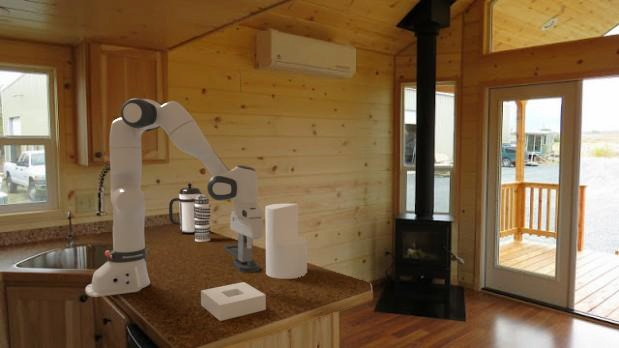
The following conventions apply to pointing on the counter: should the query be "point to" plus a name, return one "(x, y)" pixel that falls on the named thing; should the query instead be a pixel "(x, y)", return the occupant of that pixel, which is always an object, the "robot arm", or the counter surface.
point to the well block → (233, 300)
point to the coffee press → (185, 208)
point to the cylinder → (284, 243)
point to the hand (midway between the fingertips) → (245, 246)
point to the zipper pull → (241, 266)
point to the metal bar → (244, 249)
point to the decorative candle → (202, 218)
